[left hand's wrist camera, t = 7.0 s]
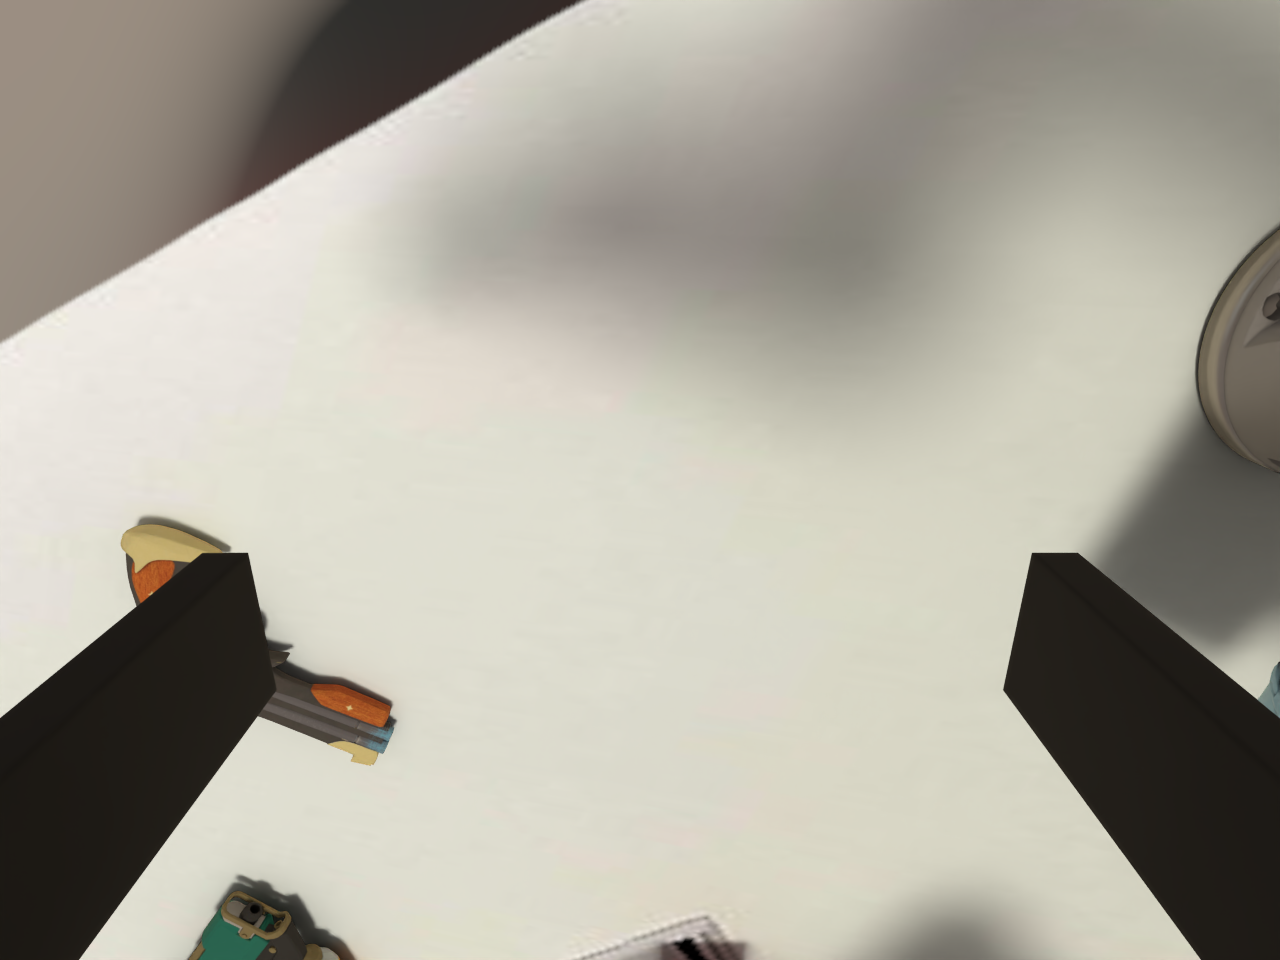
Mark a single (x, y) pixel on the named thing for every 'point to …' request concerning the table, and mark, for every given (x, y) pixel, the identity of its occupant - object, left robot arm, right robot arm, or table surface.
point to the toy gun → (295, 702)
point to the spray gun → (254, 935)
